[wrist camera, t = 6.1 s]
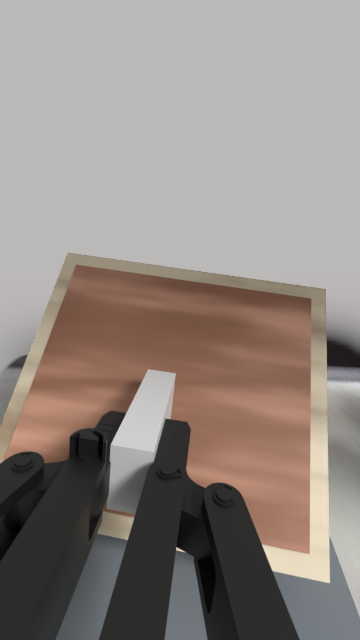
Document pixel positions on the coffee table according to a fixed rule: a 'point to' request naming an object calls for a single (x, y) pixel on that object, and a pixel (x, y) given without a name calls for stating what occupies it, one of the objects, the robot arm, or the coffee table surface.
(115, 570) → the slate mat
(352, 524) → the coffee table surface
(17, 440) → the birch slab
